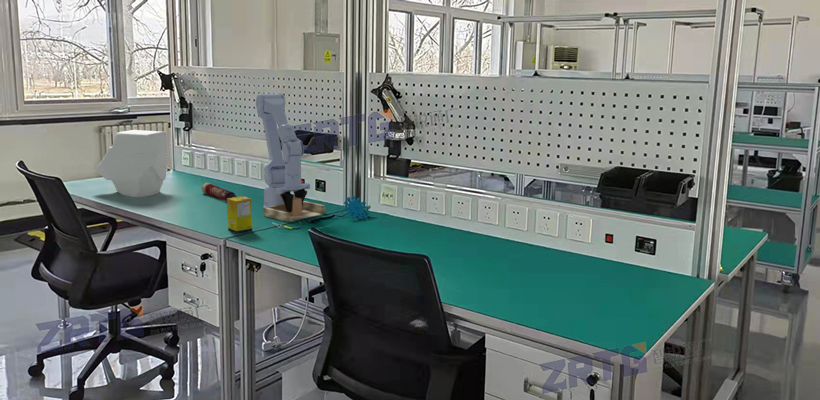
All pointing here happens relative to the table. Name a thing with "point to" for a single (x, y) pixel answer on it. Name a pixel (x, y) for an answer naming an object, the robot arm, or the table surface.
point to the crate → (281, 214)
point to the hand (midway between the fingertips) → (293, 210)
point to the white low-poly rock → (136, 162)
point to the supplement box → (239, 214)
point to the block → (296, 207)
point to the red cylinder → (217, 191)
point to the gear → (356, 207)
